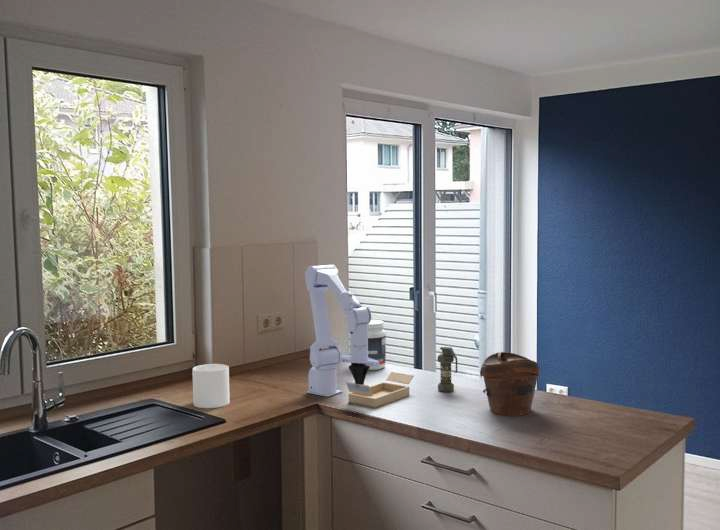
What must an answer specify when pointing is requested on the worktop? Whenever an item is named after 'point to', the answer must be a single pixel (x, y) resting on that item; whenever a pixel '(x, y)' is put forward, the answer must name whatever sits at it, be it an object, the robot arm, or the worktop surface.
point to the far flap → (400, 378)
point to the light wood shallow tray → (380, 395)
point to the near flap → (359, 388)
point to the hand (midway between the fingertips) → (359, 386)
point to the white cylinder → (211, 386)
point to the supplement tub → (377, 343)
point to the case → (509, 383)
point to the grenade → (446, 369)
